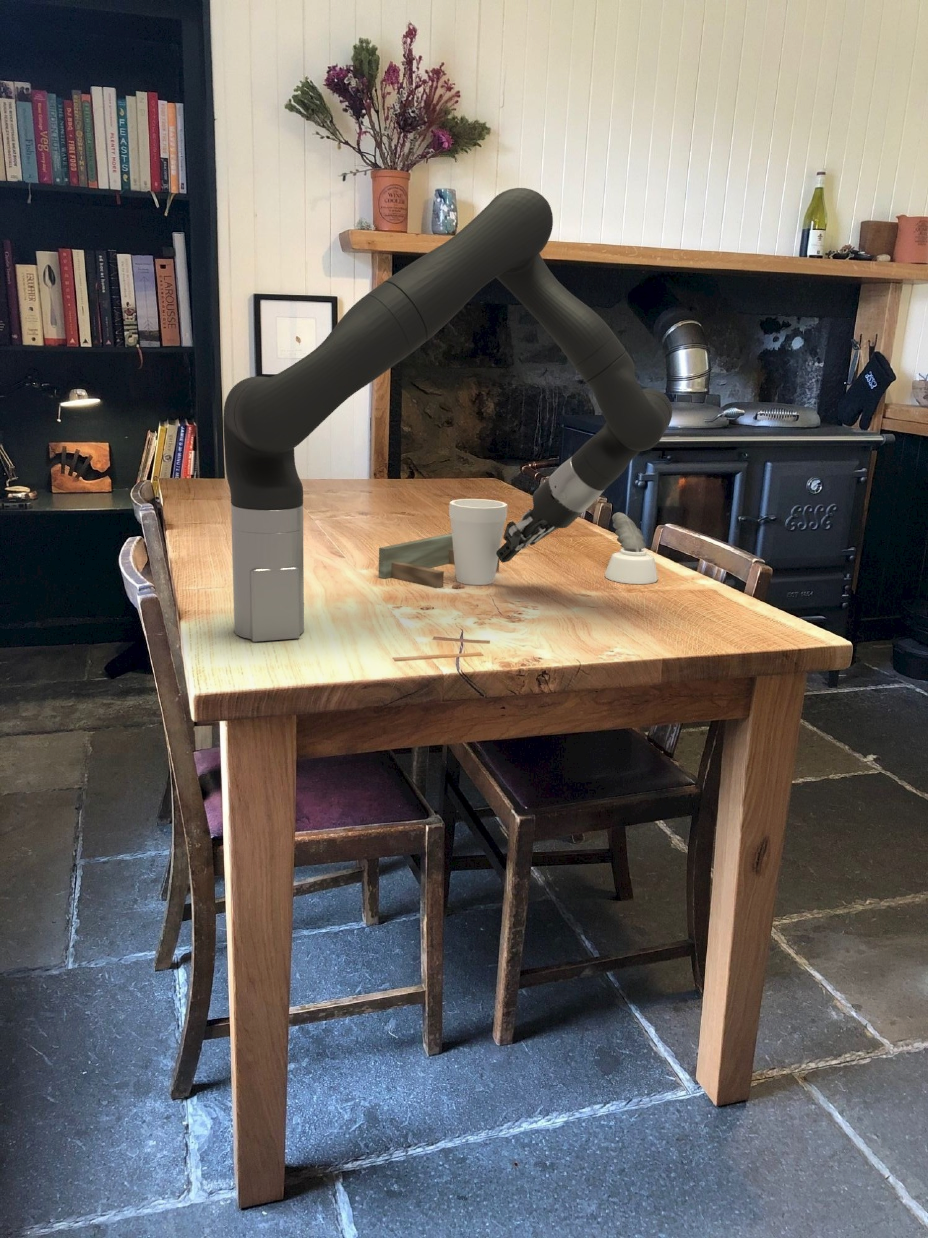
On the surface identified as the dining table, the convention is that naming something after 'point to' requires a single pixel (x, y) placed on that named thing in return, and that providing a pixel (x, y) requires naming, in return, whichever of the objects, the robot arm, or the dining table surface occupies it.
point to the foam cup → (476, 538)
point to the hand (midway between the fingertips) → (501, 557)
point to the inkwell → (630, 555)
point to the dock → (418, 560)
